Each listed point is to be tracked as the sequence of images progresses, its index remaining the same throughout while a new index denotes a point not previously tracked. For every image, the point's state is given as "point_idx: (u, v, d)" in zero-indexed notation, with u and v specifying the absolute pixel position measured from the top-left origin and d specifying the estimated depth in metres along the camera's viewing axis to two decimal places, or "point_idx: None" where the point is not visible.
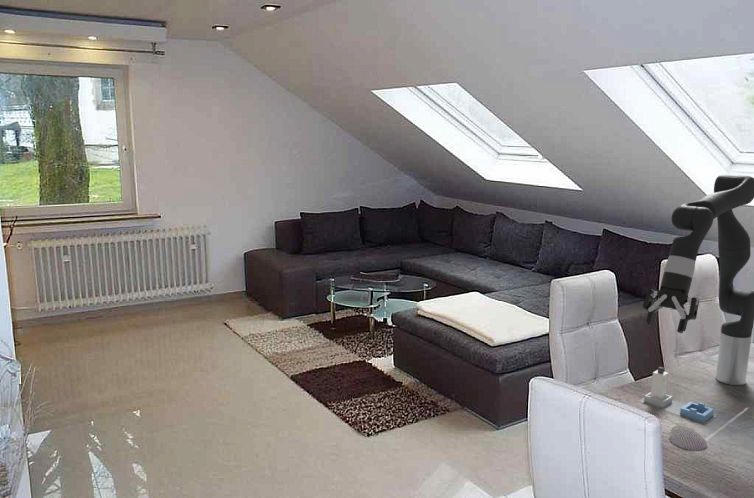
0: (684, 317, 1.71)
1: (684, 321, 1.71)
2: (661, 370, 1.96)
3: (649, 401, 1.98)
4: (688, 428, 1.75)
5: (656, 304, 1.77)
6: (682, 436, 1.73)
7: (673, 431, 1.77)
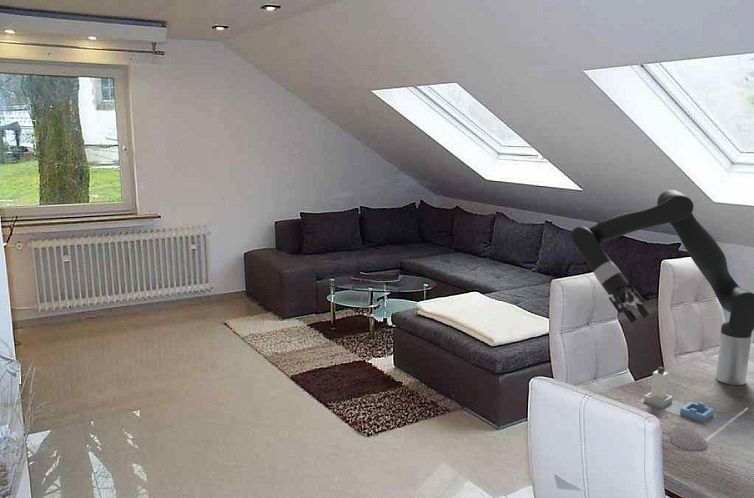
0: (622, 312, 1.98)
1: None
2: (661, 370, 1.96)
3: (649, 401, 1.98)
4: (689, 429, 1.75)
5: None
6: (683, 437, 1.73)
7: (674, 432, 1.76)
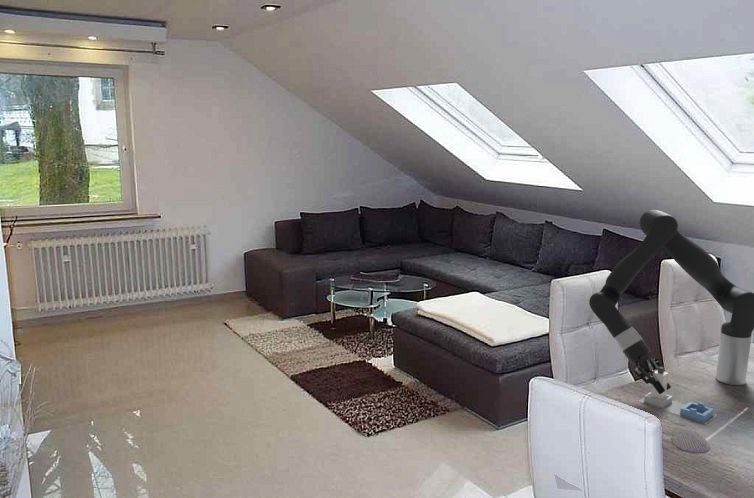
0: (650, 382, 1.97)
1: None
2: (661, 370, 1.96)
3: (649, 401, 1.98)
4: (690, 430, 1.74)
5: None
6: (685, 438, 1.72)
7: (675, 433, 1.75)
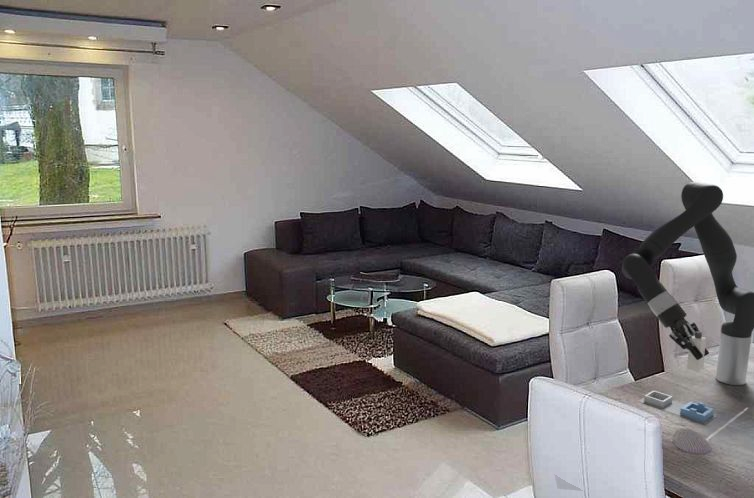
0: (686, 348, 1.87)
1: None
2: (698, 335, 1.86)
3: (649, 401, 1.98)
4: (692, 431, 1.73)
5: None
6: (686, 440, 1.71)
7: (677, 435, 1.75)
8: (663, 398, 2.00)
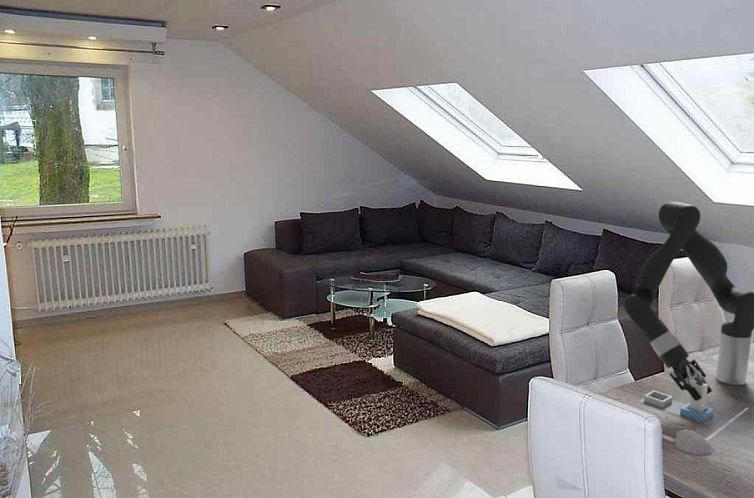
0: None
1: None
2: (700, 382, 1.87)
3: (649, 401, 1.98)
4: (693, 433, 1.73)
5: None
6: (688, 441, 1.71)
7: (678, 436, 1.74)
8: (663, 398, 2.00)
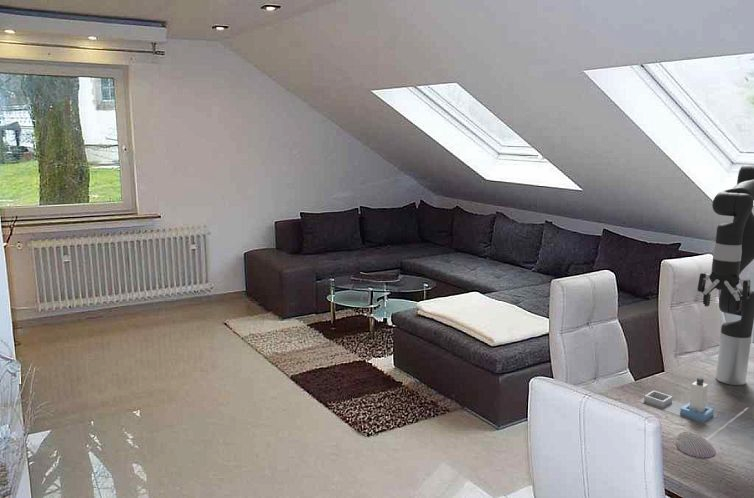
0: (738, 299, 1.87)
1: (739, 302, 1.87)
2: (700, 382, 1.87)
3: (649, 401, 1.98)
4: (696, 435, 1.72)
5: (710, 288, 1.92)
6: (690, 443, 1.70)
7: (680, 438, 1.73)
8: (663, 398, 2.00)
